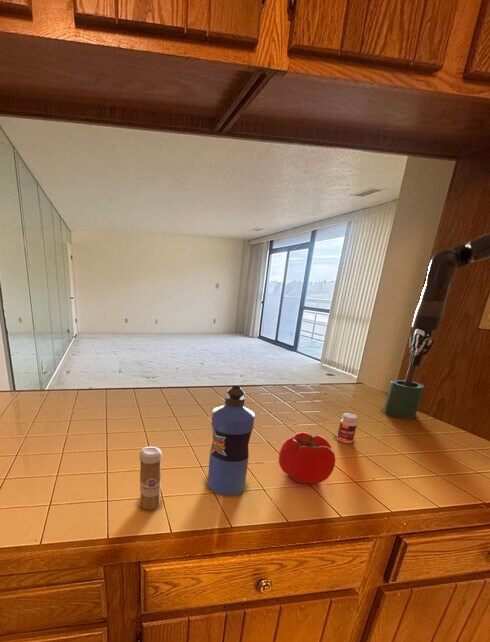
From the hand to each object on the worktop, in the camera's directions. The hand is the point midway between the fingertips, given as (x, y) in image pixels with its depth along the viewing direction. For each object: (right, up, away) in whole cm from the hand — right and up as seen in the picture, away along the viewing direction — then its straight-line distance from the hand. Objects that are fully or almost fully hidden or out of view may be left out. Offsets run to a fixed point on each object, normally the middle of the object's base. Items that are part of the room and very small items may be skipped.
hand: (413, 364), depth 124 cm
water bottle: (-74, -36, -39) cm, 91 cm away
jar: (0, -18, +7) cm, 19 cm away
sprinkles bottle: (-93, -39, -47) cm, 111 cm away
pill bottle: (-32, -26, -14) cm, 44 cm away
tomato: (-54, -34, -35) cm, 73 cm away
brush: (0, -12, +5) cm, 13 cm away
